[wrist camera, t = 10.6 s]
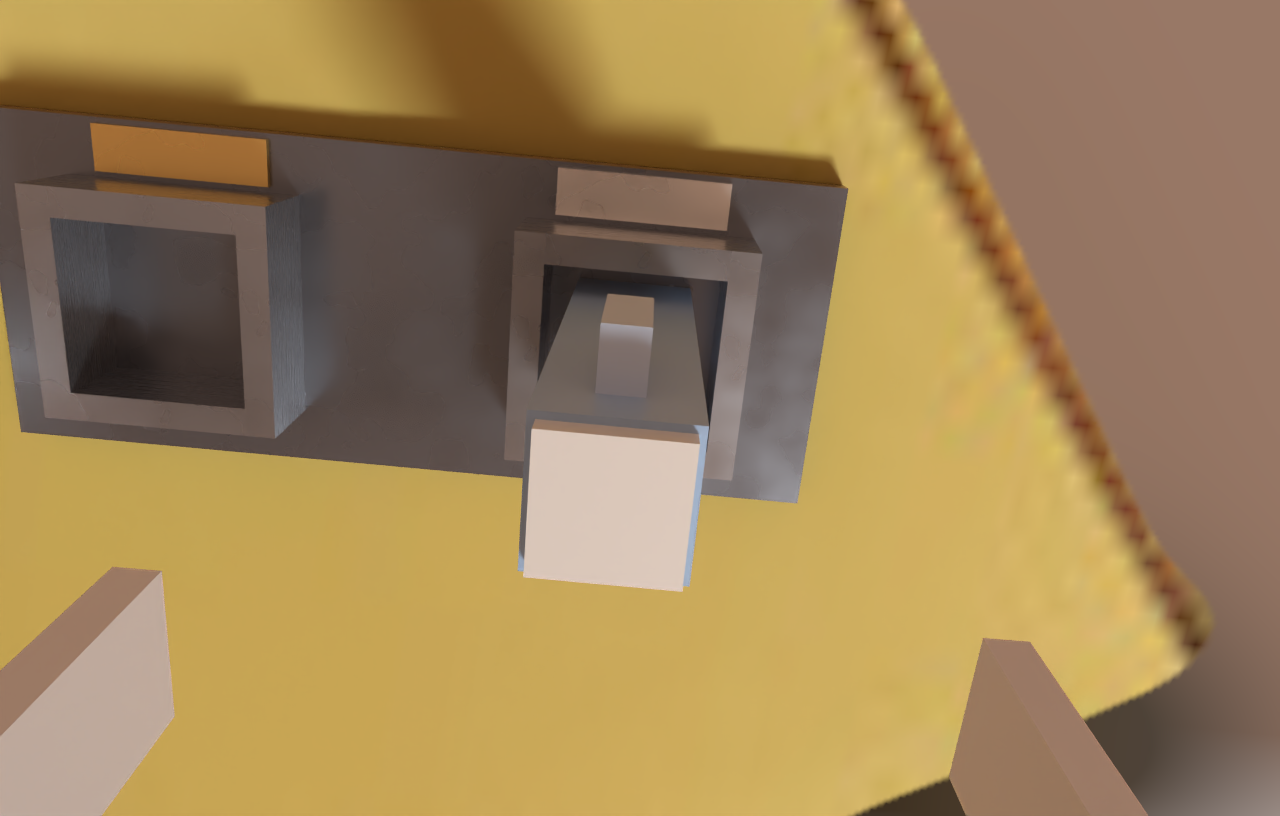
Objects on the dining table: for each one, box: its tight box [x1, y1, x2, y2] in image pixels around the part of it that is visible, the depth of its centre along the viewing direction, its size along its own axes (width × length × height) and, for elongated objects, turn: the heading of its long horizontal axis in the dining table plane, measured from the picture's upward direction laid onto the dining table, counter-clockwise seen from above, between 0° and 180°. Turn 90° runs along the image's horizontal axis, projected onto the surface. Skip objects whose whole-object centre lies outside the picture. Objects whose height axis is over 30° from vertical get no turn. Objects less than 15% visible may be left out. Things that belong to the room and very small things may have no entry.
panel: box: [0, 105, 848, 503], centre depth 33 cm, size 30×12×4 cm, turn 85°
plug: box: [518, 278, 709, 592], centre depth 27 cm, size 4×6×15 cm
